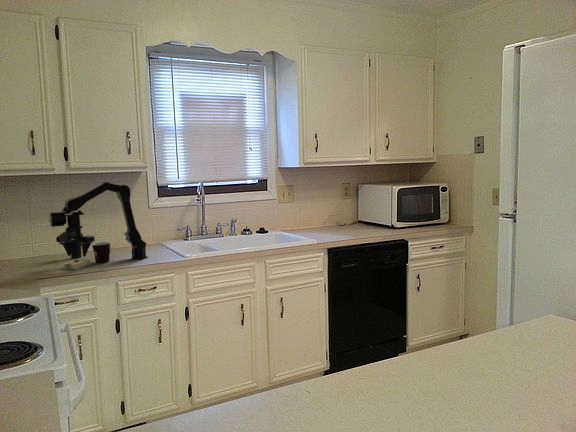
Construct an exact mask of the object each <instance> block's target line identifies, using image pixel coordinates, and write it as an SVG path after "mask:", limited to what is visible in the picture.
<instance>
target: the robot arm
mask: <svg viewBox="0 0 576 432" xmlns="http://www.w3.org/2000/svg"><path fill="white" fill-rule="evenodd" d="M106 191H109V192H112V193H113V192H114V193H115V194H116V196H117V198H118V200H119V201H120V204H121V207H122V211H123V217H124V220H125V221H124V222H125V224H126V228H127V229H126V232H124V236H125V240H126V241H127V243H128V244H130V245H131V258H130V260H139V261H140V260H144V259H147V258H149V256H147V252H146V251H147V248H146V247H147V242H146V241H144V240H143V238H142V237H141V233H140V232H139V230H138V228H137V225H136V221H135V218H134V214H133V208H132V206H131V205H132V204H131V188H130V186H129V185H127V184H114V183H111V182H108V181H103V182H102V183H101V184H99V185H97V186H95V187H93V188H92V189H89V190H88V191H86V192H84V193H82V194H80V195H77V196H73V197H71V198H69V199H67V200H66V201H65V203H64V207H63V208H62V209H61V211H60V212H50V213H49V225H50V227H51V228H54V227H55V228H57V227H64V226H65V225H66V224H67V226H66V227H65V231H63V232H61V233H60V234H59V235H57V237H56V238H55V241H56V242H55V243H58V244H59V245H61V246H63V248H64V250H65V253H66V254H67V256H68V257H71V245H72V241H80V242H81V243H80V245H81V253H82V256H83V257H87V253H88V250H89V249H90V247H91V246H92V244H94V243H93V242H95V236H94V235H92V234H91V235H89V234H87V235H84V234H83V233H82V229H83V227H84V226H83V225H81V216H84V215H85V213H84V212H82V210H81V208H82V207H83V206H85V204H86V203H88V202H89V201H90V200H92V199H94V198H96V197H98V196H99V195H102V194H103V193H105V192H106ZM81 233H82V234H81ZM73 238H74V239H73Z"/></svg>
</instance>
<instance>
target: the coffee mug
mask: <svg viewBox="0 0 576 432" xmlns="http://www.w3.org/2000/svg"><path fill="white" fill-rule="evenodd" d="M91 246H92V250H93V255H94V261H95V264H107V263H109V262H110V258H111V257H110V255H111V242H109V241H101V242H100V241H99V242H94V243H91Z"/></svg>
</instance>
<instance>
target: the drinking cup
mask: <svg viewBox="0 0 576 432" xmlns="http://www.w3.org/2000/svg"><path fill="white" fill-rule="evenodd" d="M81 234H83V233H82V232H81ZM73 239H74V238H73ZM80 243H81V242H80V241H72V245H71V255H70V257H71V259H73V260H76V259H81V258H82V246H81V245H80Z"/></svg>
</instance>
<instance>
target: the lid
mask: <svg viewBox="0 0 576 432" xmlns="http://www.w3.org/2000/svg"><path fill="white" fill-rule="evenodd" d="M90 263H91V259H81V258H77V259H73V260H72V261H69V262H66V263H63V267H64V269H79V268H82V267H85V266H88V265H90Z"/></svg>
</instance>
